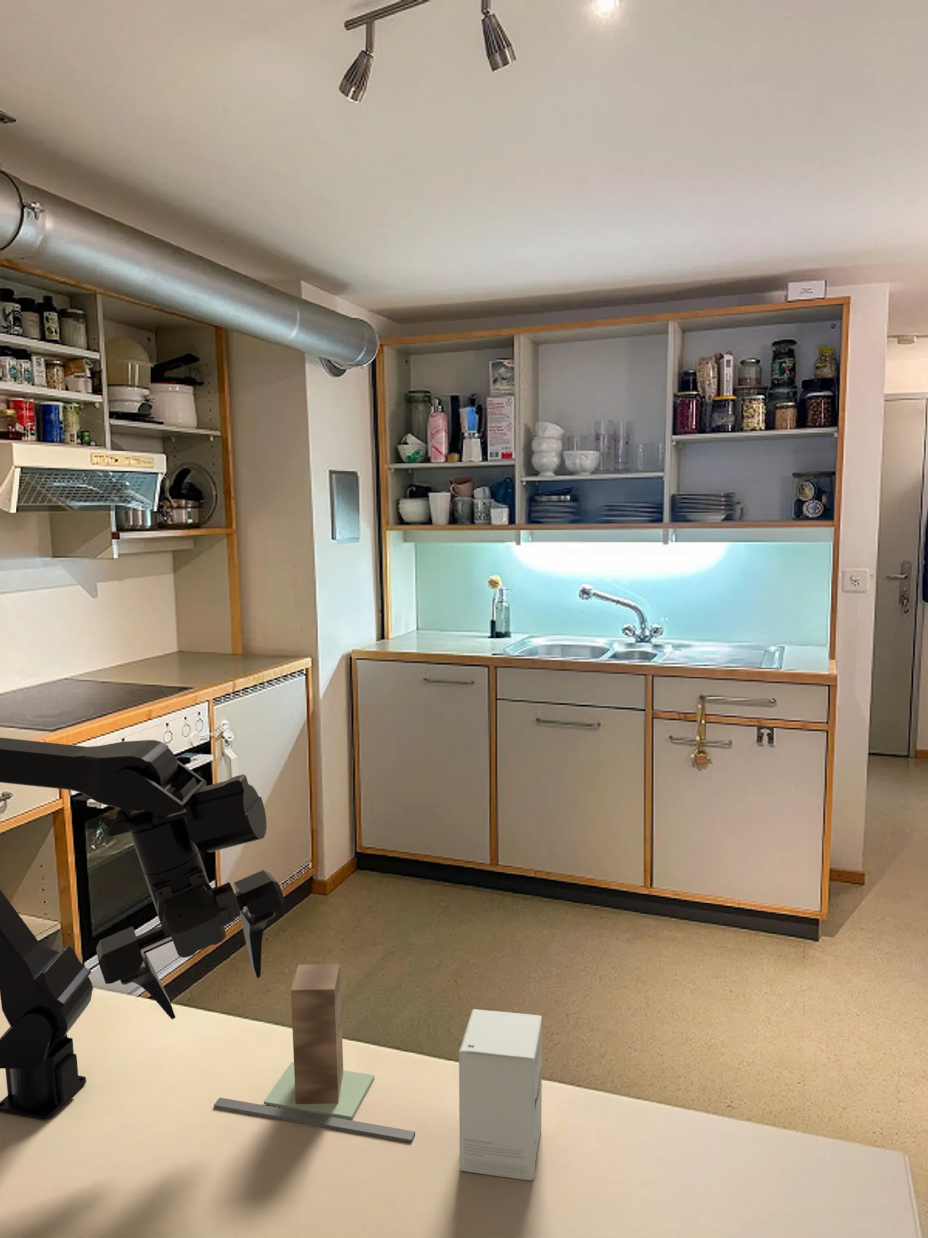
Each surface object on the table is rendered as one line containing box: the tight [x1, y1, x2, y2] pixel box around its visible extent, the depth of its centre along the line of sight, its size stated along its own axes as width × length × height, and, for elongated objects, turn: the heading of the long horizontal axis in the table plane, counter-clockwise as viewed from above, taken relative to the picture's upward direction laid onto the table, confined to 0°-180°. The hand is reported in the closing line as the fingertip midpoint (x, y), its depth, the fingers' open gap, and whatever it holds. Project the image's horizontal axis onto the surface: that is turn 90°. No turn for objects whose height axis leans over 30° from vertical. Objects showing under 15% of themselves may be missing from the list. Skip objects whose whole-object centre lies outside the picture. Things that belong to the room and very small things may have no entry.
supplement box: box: [458, 1008, 543, 1181], centre depth 87 cm, size 7×7×13 cm
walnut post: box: [290, 963, 344, 1104], centre depth 96 cm, size 4×5×13 cm
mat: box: [263, 1061, 375, 1121], centre depth 96 cm, size 10×7×1 cm
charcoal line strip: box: [213, 1097, 416, 1143], centre depth 92 cm, size 22×1×1 cm, turn 76°
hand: (216, 996), depth 94 cm, fingers open, 9 cm apart
